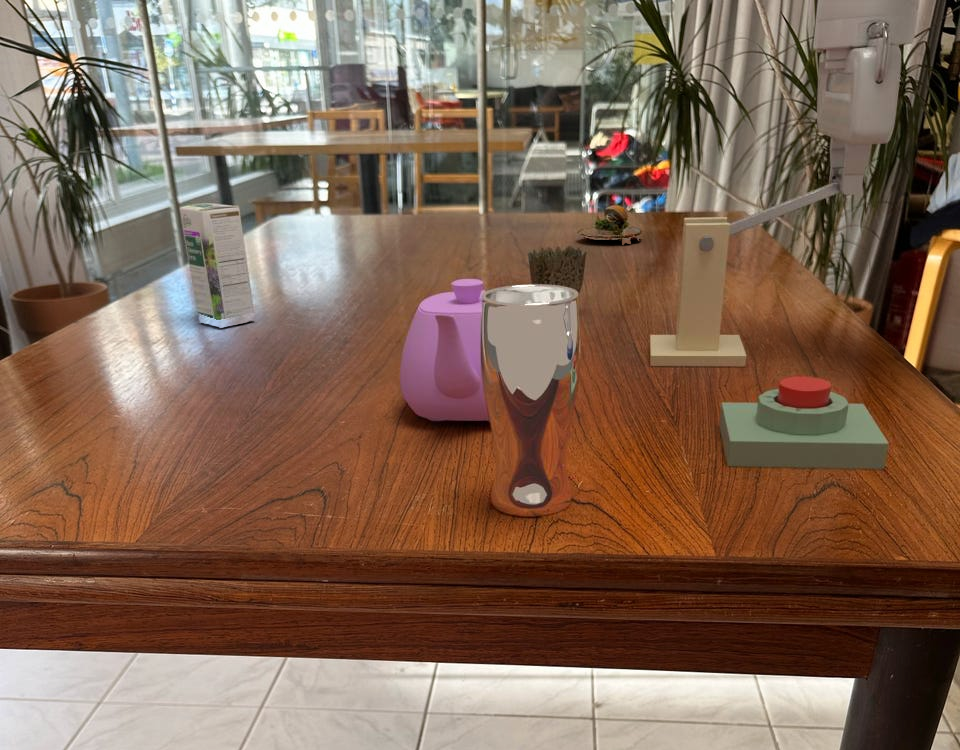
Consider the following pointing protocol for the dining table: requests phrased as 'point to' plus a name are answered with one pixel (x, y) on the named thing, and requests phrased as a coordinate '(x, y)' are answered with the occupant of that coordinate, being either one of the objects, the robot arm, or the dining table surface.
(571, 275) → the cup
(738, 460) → the button box
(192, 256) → the syrup box
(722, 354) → the bracket
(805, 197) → the lever
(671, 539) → the dining table surface
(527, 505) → the beer glass
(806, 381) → the button
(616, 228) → the moss table decoration
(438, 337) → the teapot
